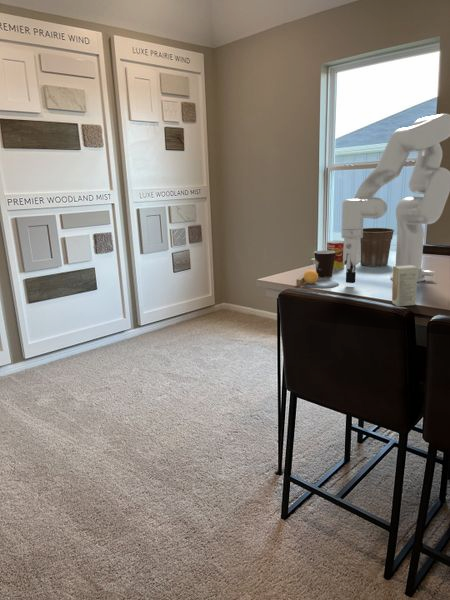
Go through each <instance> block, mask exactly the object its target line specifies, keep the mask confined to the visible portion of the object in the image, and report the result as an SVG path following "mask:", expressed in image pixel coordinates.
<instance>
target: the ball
mask: <svg viewBox="0 0 450 600" xmlns="http://www.w3.org/2000/svg"><path fill="white" fill-rule="evenodd" d="M303 275H304V280H305V283H308V284H314V283H316V282H317V280H319V277H318V274H317V272H316V270H314V269H309V270H306V271H305V272H304V274H303Z"/></svg>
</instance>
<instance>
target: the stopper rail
mask: <svg viewBox="0 0 450 600" xmlns="http://www.w3.org/2000/svg"><path fill="white" fill-rule="evenodd" d="M295 282H296V287H300V286H302V285H305V283H306V282H305V280H304V274H301V276H299V277H298V278H297V279H296V280H295Z"/></svg>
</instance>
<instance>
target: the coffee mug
mask: <svg viewBox="0 0 450 600" xmlns="http://www.w3.org/2000/svg"><path fill="white" fill-rule="evenodd" d="M313 253H314V261H315V262H314V263H315V271H316V272H317V274H318V278H329V277H330V276H331V277H332V276H333V272H334V270H333V265H334V258H335V251H327V250H318V251H317V250H315V251H314V252H313Z"/></svg>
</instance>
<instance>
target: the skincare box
mask: <svg viewBox="0 0 450 600" xmlns="http://www.w3.org/2000/svg"><path fill="white" fill-rule="evenodd" d="M392 275H393V280H392V287H391V288H392V291H391V292H392V293H391V303H392V304H393V305H395V306H396V307H404V306H416V304H417V289H418V288H417V286H418V285H417V283H418V282H417V267H415V266H413V265H406V266H395V265H393V267H392Z"/></svg>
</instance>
